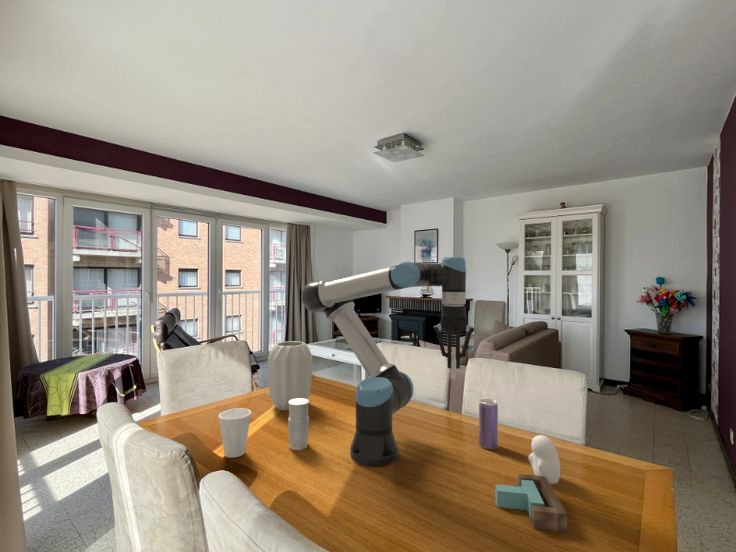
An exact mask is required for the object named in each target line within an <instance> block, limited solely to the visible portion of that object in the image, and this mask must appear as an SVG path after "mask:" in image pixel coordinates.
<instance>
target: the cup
mask: <svg viewBox="0 0 736 552" xmlns="http://www.w3.org/2000/svg"><path fill="white" fill-rule="evenodd" d="M217 418H218V423H219V428H220V433H221V440H222V446H223V447H222V448H223V454H224V456H225V457H226V458H231V459H233V458H238V457H241V456H244V455H245V454H246V449H247V444H248V443H247V442H248V435H249V427H250V422H251V418H252V411H251V410H250V409H248V408H245V407H244V408H243V407H241V408H240V407H238V408H230V409H229V408H228V409H227V410H223V411H222V412H220V413H219V414H218V416H217Z"/></svg>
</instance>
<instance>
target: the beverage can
mask: <svg viewBox="0 0 736 552" xmlns="http://www.w3.org/2000/svg"><path fill="white" fill-rule="evenodd" d="M498 406H499V405H498V402H497V400H493V399H489V398H482V399H480V400H479V403H478V411H479V412H478V444H479V446H480V447H481V448H482V449H484V450H491V451H492V450H496V449H497V448H498V446H499V445H498V444H499V443H498V442H499V440H498V439H499V438H498V433H499V431H498V430H499V428H498V426H499V423H498V421H499V419H498V418H499V415H498V414H499V413H498V409H499V407H498Z"/></svg>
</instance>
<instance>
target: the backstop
mask: <svg viewBox="0 0 736 552" xmlns="http://www.w3.org/2000/svg"><path fill="white" fill-rule="evenodd" d="M521 480H530V481H533V482H534V484H535V486H536V488H537V490H538V492H539V494H540V496H541V498H542V500H543V502H544V507H542V506H532V519H531V525H532V527H533V529H537V530H545V531H555V532H565V533H567V532H568V513H567V512H566V510H565V508H564V506H563V504H562V502H561V500H560V499H559V498H558V496H557V494H556V493H555V491H554V489H553V487H552V484H550V483H549V482H548V480H547V478H546V477H545V476H535V474H534V475H533V474H532V475H531V474H522V473H517V486H518V487H521Z"/></svg>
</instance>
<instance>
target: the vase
mask: <svg viewBox="0 0 736 552" xmlns="http://www.w3.org/2000/svg"><path fill="white" fill-rule="evenodd" d="M308 346H309V345H307V343H306V342H304V341H298V340H296V341H292V340H290V341H289V340H288V341H281V342H277V343H275V344H273V346H272V348H271V350H270V352H269V354H268V357H267V367H268V368H267V371H268V384H269V385H268V388H269V398H270V399H271V402H272V403H273V405H274V407H276V408H277V410H279V411H280V410H282V412H283V411H286V412H287V411H289V401H290V400H292V399H296V398H305V399H308V400H309V397H310V395H311V387H312V377H313V376H312V375H313V355H312V353H311V350H310V349H309V347H308Z"/></svg>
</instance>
